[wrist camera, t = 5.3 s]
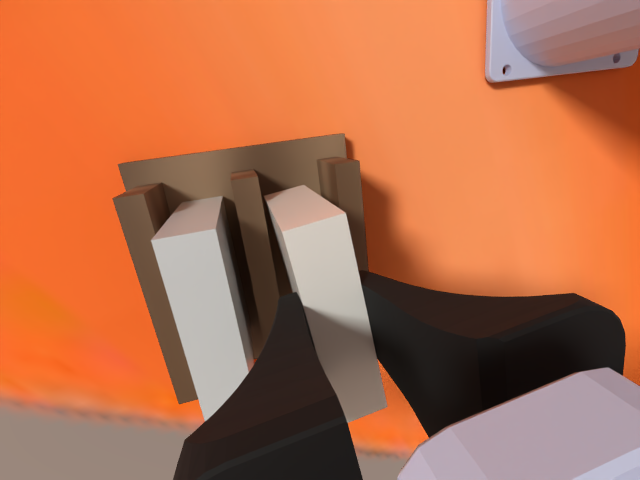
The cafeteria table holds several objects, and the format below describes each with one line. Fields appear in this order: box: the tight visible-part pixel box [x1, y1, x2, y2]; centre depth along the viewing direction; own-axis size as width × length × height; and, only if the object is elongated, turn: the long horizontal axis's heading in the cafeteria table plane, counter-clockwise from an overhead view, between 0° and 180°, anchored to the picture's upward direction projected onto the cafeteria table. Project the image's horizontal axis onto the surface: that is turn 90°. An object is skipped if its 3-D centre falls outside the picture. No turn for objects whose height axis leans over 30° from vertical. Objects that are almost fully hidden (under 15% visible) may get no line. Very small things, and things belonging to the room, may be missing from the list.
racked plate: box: [151, 196, 254, 421], centre depth 14 cm, size 2×7×6 cm, turn 7°
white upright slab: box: [264, 185, 387, 423], centre depth 13 cm, size 2×7×6 cm, turn 13°
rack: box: [112, 134, 369, 404], centre depth 16 cm, size 10×11×4 cm
